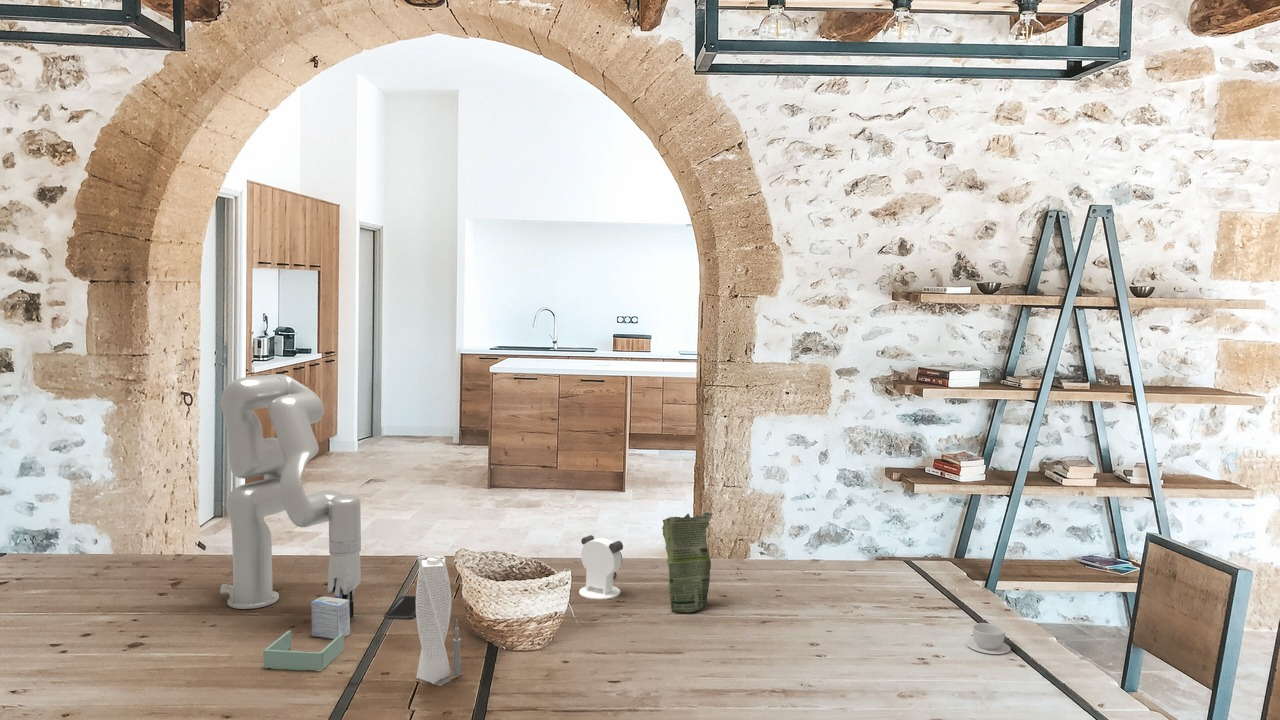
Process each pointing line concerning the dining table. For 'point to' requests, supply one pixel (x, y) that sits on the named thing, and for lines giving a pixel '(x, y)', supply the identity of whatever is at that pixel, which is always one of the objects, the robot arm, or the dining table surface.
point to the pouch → (687, 561)
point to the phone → (403, 609)
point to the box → (300, 655)
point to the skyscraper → (435, 621)
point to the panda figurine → (600, 567)
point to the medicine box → (330, 617)
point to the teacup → (988, 639)
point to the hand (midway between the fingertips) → (346, 617)
